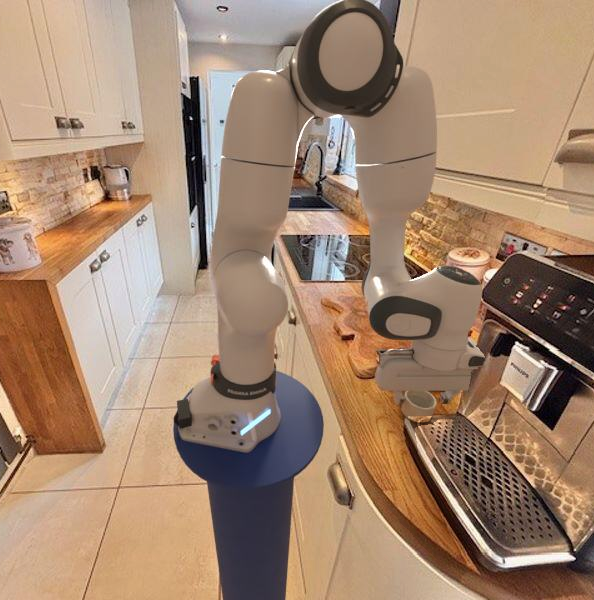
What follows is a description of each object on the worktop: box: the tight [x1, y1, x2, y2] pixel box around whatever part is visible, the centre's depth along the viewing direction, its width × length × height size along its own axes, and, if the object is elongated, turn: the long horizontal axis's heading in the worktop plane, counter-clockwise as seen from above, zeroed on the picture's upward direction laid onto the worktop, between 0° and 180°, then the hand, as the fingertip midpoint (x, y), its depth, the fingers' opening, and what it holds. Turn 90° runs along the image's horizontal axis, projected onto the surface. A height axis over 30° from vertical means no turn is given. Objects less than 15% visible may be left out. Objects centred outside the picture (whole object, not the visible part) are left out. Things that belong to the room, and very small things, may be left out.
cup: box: [400, 391, 438, 418], centre depth 69 cm, size 6×6×4 cm
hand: (420, 402), depth 68 cm, fingers open, 8 cm apart
